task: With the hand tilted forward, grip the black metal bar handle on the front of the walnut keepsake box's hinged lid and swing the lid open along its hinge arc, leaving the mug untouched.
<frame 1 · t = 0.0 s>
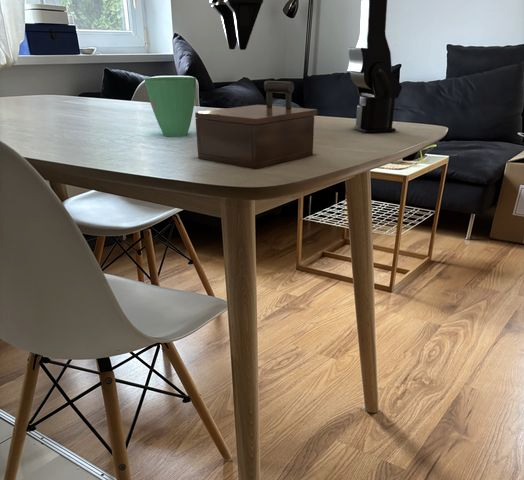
hand: (237, 49, 91), 15 cm above the table, tool pointing down, fingers open, 9 cm apart
lid: (256, 100, 78), point 8 cm above the table, hinge at 0.0°
keepsake box: (256, 156, 82), on the table
mug: (174, 133, 105), on the table
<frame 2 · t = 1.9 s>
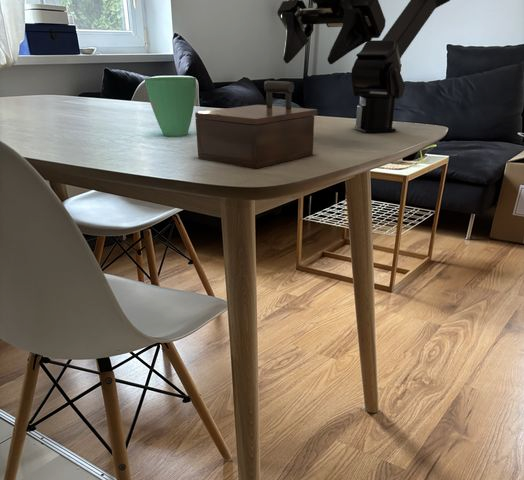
hand: (306, 61, 84), 13 cm above the table, tool tilted 45°, fingers open, 9 cm apart
nothing on the table moved.
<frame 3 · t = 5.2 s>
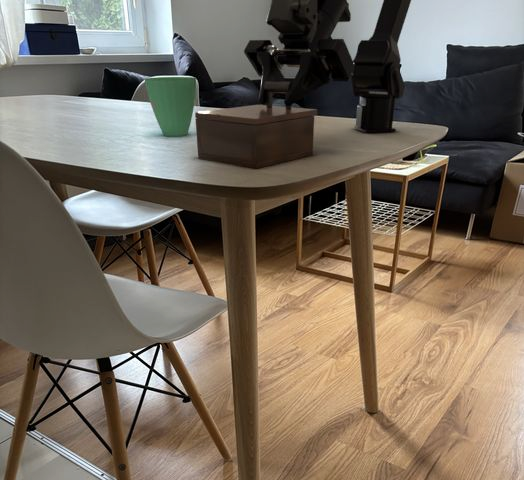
hand: (273, 103, 81), 7 cm above the table, tool tilted 45°, fingers closed on lid, 5 cm apart
lid: (256, 100, 78), point 8 cm above the table, hinge at 0.0°, touching gripper
everything else where it was.
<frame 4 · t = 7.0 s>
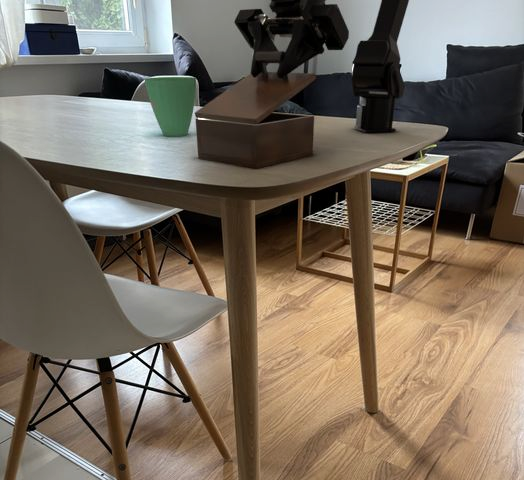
hand: (265, 75, 77), 11 cm above the table, tool tilted 45°, fingers closed on lid, 5 cm apart
lid: (251, 82, 76), point 11 cm above the table, hinge at 20.5°, touching gripper
everything else where it was.
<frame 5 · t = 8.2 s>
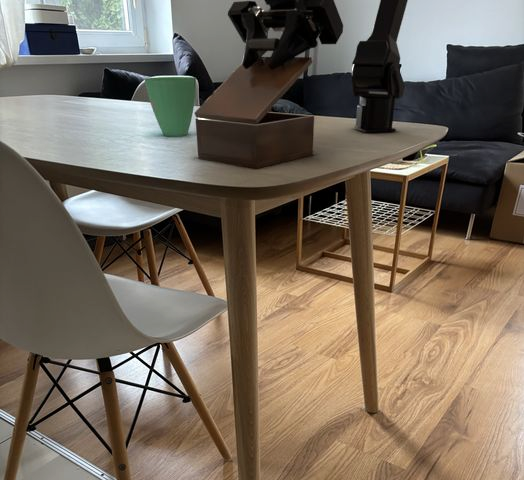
hand: (256, 67, 76), 13 cm above the table, tool tilted 45°, fingers closed on lid, 5 cm apart
lid: (247, 75, 75), point 12 cm above the table, hinge at 30.1°, touching gripper
everything else where it was.
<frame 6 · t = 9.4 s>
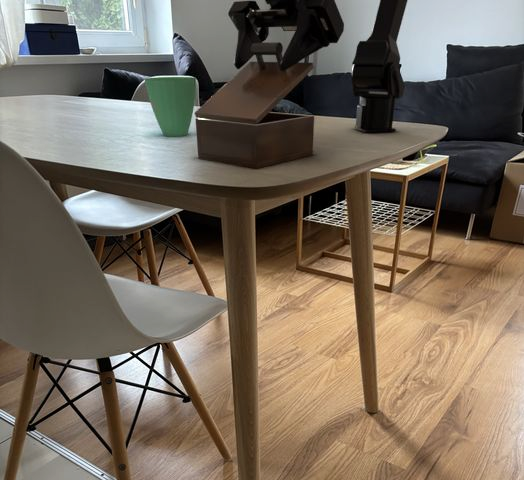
hand: (258, 67, 76), 12 cm above the table, tool tilted 45°, fingers open, 9 cm apart
lid: (249, 78, 75), point 11 cm above the table, hinge at 26.8°
everything else where it was.
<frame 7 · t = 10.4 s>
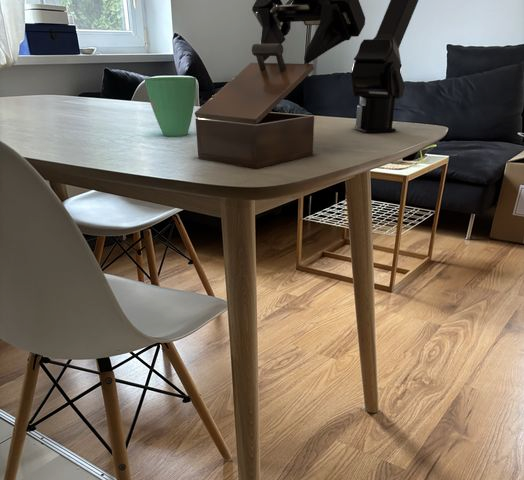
hand: (282, 60, 79), 13 cm above the table, tool tilted 45°, fingers open, 9 cm apart
lid: (249, 78, 75), point 11 cm above the table, hinge at 26.1°
everything else where it was.
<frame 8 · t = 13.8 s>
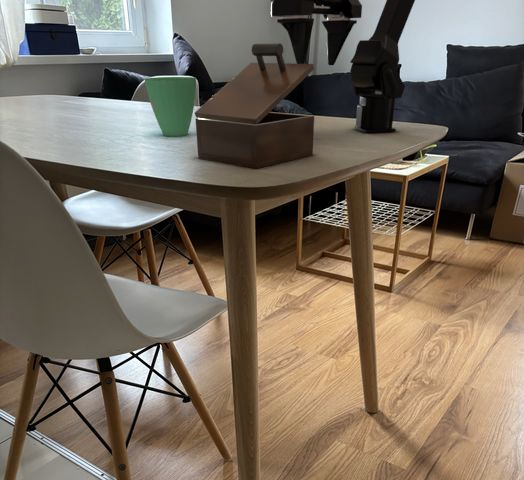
hand: (316, 66, 91), 12 cm above the table, tool pointing down, fingers open, 9 cm apart
nothing on the table moved.
at the end: lid at +26° (first picture: +0°); mug moved 0.2 cm from its start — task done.
